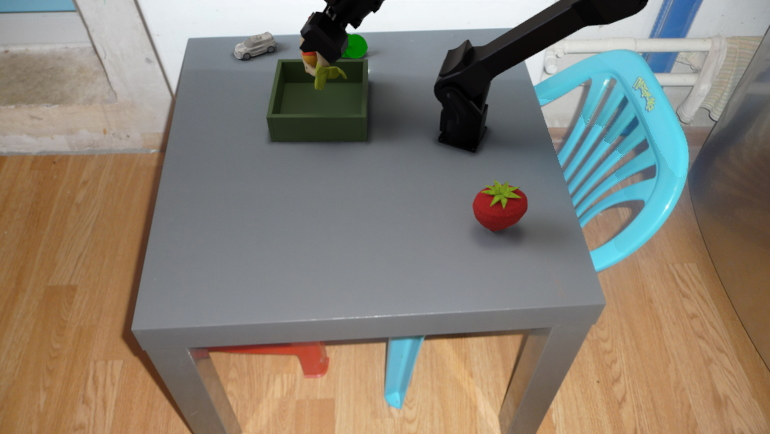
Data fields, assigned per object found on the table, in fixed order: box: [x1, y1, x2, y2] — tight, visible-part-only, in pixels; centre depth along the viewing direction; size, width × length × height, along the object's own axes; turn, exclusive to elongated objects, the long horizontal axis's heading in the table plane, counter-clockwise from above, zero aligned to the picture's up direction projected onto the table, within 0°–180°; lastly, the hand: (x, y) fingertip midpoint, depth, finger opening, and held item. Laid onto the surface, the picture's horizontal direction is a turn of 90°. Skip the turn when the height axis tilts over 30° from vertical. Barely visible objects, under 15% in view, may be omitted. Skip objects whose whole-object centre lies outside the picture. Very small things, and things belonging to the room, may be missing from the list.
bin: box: [265, 58, 370, 142], centre depth 98 cm, size 16×16×5 cm
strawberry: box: [471, 178, 529, 233], centre depth 79 cm, size 6×8×10 cm
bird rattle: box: [299, 15, 347, 90], centre depth 91 cm, size 6×11×9 cm
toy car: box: [233, 31, 278, 61], centre depth 111 cm, size 4×8×3 cm, turn 118°
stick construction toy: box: [340, 32, 369, 59], centre depth 110 cm, size 12×7×8 cm
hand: (307, 41), depth 90 cm, fingers closed on bird rattle, 4 cm apart
